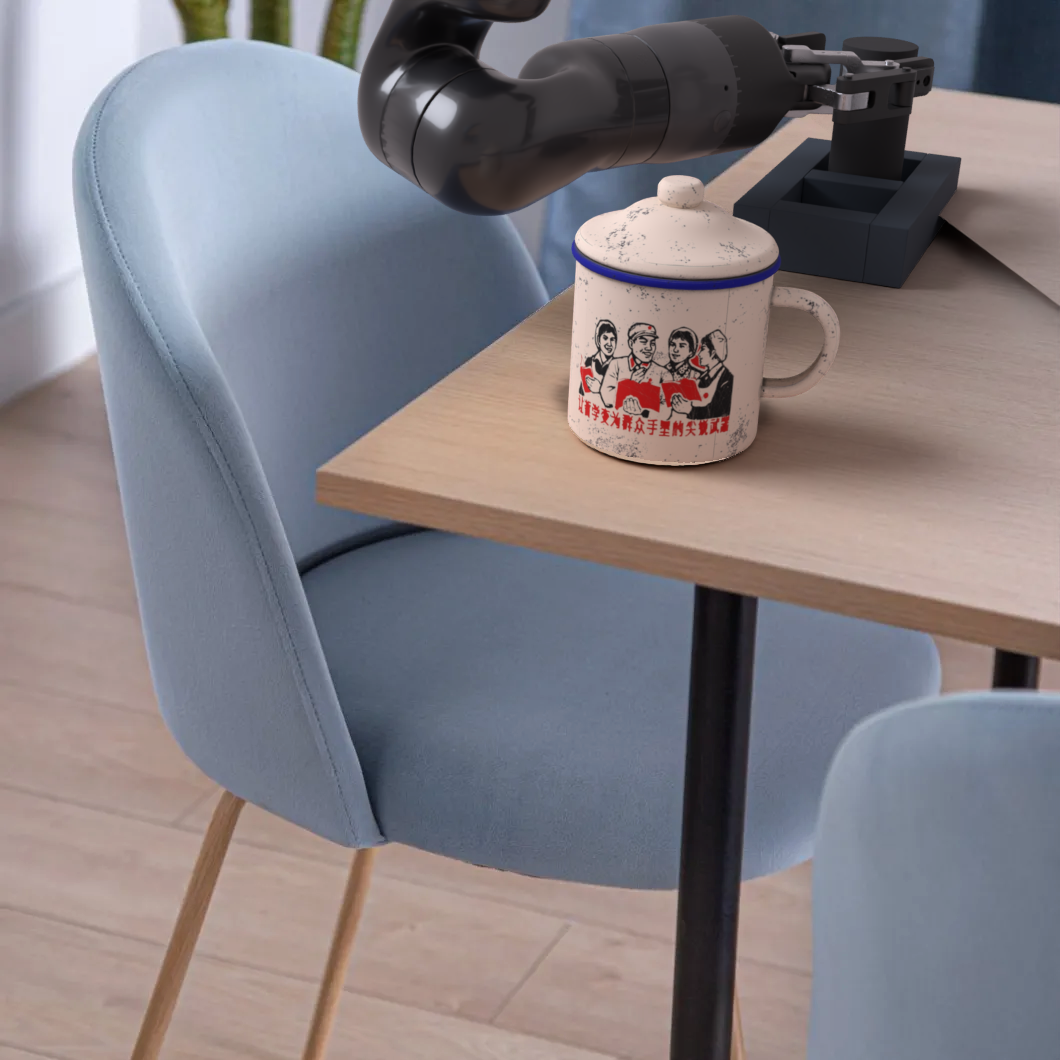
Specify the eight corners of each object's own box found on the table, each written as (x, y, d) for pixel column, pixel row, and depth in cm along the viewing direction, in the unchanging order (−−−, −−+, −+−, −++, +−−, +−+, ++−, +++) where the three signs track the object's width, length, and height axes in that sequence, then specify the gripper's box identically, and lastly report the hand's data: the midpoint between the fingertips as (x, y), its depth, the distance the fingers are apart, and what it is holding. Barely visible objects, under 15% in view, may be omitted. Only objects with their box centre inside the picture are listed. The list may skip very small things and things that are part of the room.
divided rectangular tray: (953, 210, 116) (961, 157, 114) (900, 288, 100) (908, 229, 99) (802, 188, 119) (807, 137, 117) (727, 261, 104) (733, 203, 102)
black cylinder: (910, 224, 112) (934, 48, 108) (853, 232, 110) (876, 53, 105) (863, 205, 116) (885, 34, 111) (808, 212, 114) (827, 39, 109)
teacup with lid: (543, 457, 77) (556, 197, 72) (581, 384, 85) (595, 145, 80) (819, 492, 75) (852, 226, 70) (831, 413, 83) (862, 170, 78)
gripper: (786, 45, 92) (976, 18, 102) (603, 1, 102) (793, -20, 111) (771, 186, 96) (957, 147, 105) (595, 130, 105) (780, 100, 115)
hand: (872, 61), depth 108 cm, fingers open, 8 cm apart
